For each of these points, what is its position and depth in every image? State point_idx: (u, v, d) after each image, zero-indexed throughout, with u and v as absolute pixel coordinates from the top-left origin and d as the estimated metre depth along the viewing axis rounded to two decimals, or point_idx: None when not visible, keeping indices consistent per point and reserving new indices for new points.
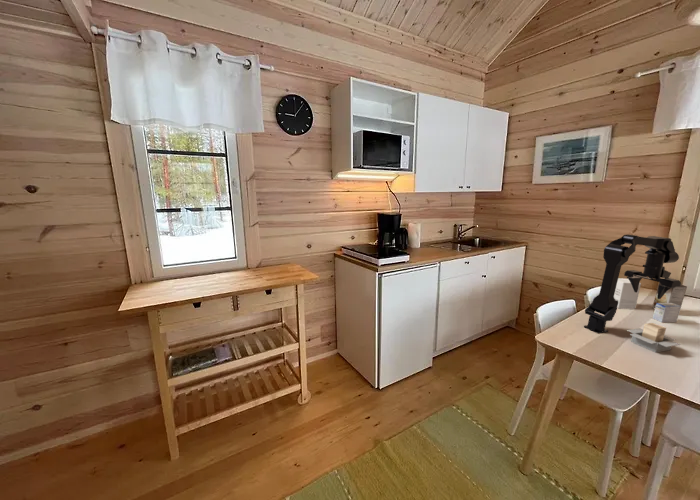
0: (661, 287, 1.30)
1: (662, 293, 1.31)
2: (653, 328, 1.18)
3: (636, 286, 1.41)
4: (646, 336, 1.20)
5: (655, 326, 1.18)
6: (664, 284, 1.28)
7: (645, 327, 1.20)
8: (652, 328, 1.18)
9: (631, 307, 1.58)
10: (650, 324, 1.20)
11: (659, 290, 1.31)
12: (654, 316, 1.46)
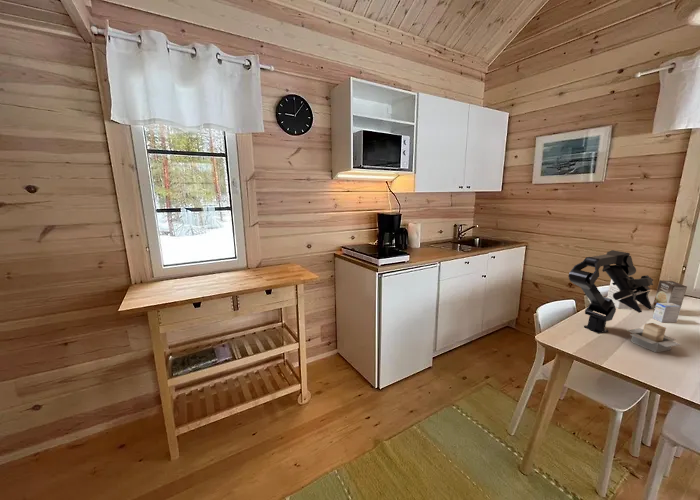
0: None
1: (632, 306, 1.21)
2: (653, 328, 1.18)
3: (644, 302, 1.26)
4: (646, 336, 1.20)
5: (655, 326, 1.18)
6: None
7: (645, 327, 1.20)
8: (652, 328, 1.18)
9: None
10: (650, 324, 1.20)
11: None
12: (654, 316, 1.46)
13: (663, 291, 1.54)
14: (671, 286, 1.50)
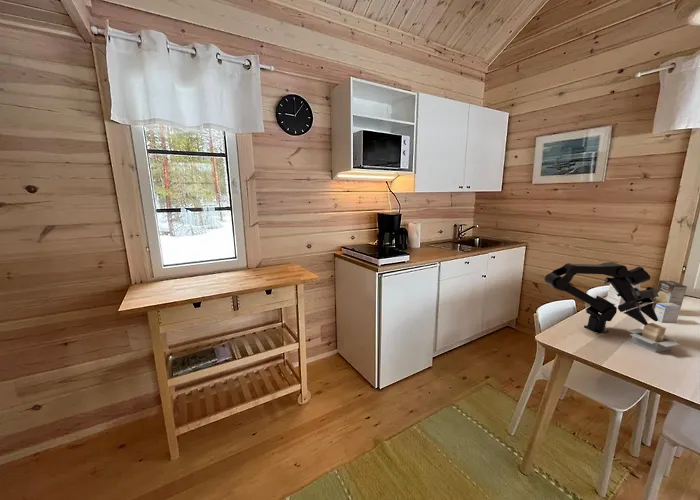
0: None
1: (638, 318, 1.19)
2: (653, 328, 1.18)
3: (650, 314, 1.24)
4: (646, 336, 1.20)
5: (655, 326, 1.18)
6: None
7: (645, 327, 1.20)
8: (652, 328, 1.18)
9: None
10: (650, 324, 1.20)
11: None
12: None
13: (663, 291, 1.54)
14: (671, 286, 1.50)
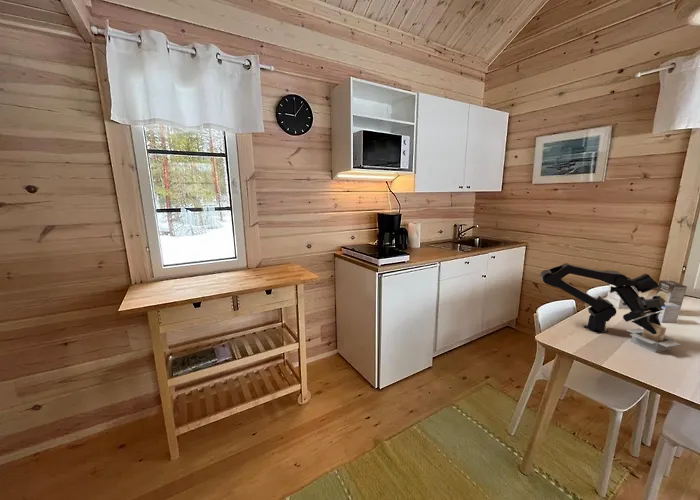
0: None
1: (647, 327, 1.19)
2: None
3: None
4: (646, 336, 1.20)
5: (655, 326, 1.18)
6: None
7: None
8: None
9: None
10: None
11: None
12: None
13: (663, 291, 1.54)
14: (671, 286, 1.50)
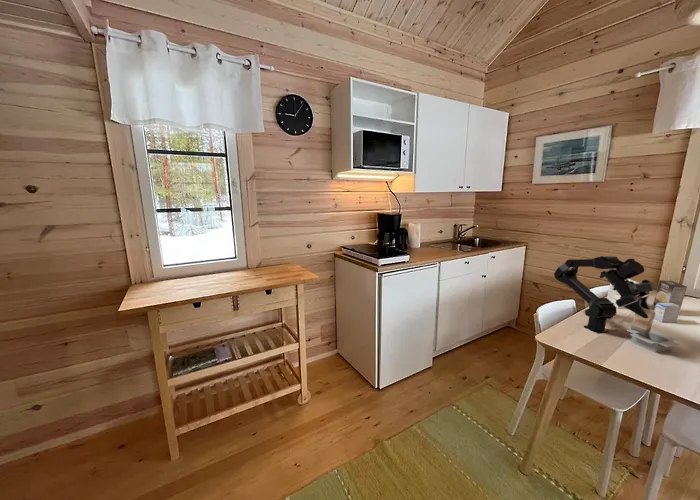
0: None
1: (638, 312, 1.17)
2: None
3: None
4: (637, 321, 1.19)
5: (646, 311, 1.17)
6: None
7: None
8: None
9: None
10: None
11: None
12: None
13: (663, 291, 1.54)
14: (671, 286, 1.50)
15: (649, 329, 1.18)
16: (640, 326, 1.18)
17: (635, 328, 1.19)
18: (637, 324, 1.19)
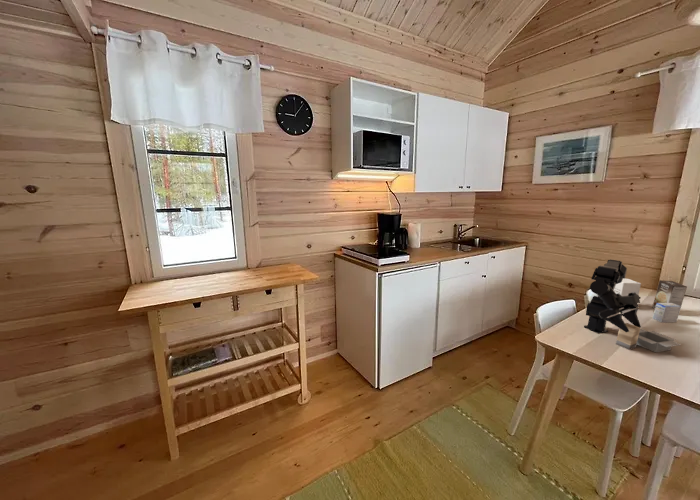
0: None
1: (619, 325, 1.17)
2: (629, 329, 1.17)
3: (633, 321, 1.21)
4: (622, 337, 1.19)
5: (630, 326, 1.18)
6: None
7: None
8: (628, 329, 1.17)
9: None
10: None
11: None
12: (654, 316, 1.46)
13: (663, 291, 1.54)
14: (671, 286, 1.50)
15: (634, 345, 1.18)
16: (624, 341, 1.19)
17: (620, 343, 1.20)
18: (622, 339, 1.19)
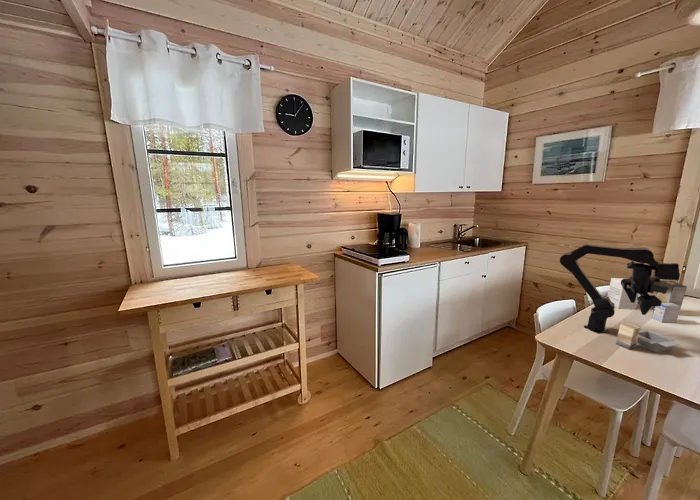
0: (638, 304, 1.21)
1: (644, 310, 1.22)
2: (629, 329, 1.17)
3: (632, 296, 1.30)
4: (622, 337, 1.19)
5: (630, 326, 1.18)
6: (639, 302, 1.20)
7: (621, 328, 1.19)
8: (628, 329, 1.17)
9: (631, 307, 1.58)
10: (625, 324, 1.19)
11: (639, 306, 1.22)
12: (654, 316, 1.46)
13: None
14: (671, 286, 1.50)
15: (634, 345, 1.18)
16: (624, 341, 1.19)
17: (620, 343, 1.20)
18: (622, 339, 1.19)
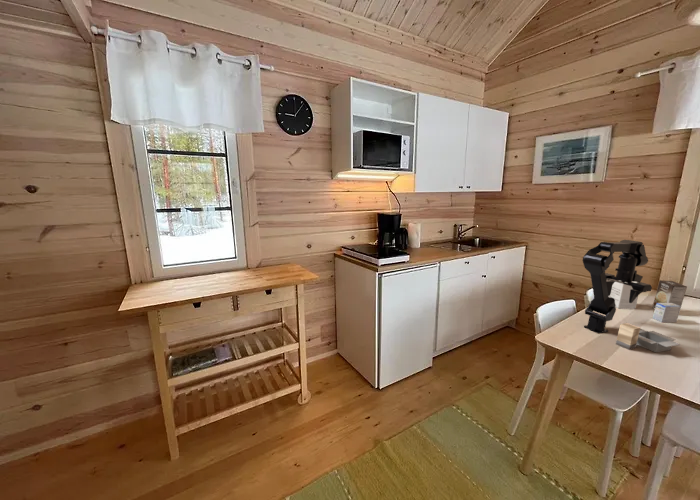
0: (633, 291, 1.29)
1: (634, 297, 1.30)
2: (629, 329, 1.17)
3: (609, 289, 1.40)
4: (622, 337, 1.19)
5: (630, 326, 1.18)
6: (635, 288, 1.27)
7: (621, 328, 1.19)
8: (628, 329, 1.17)
9: (631, 307, 1.58)
10: (625, 324, 1.19)
11: (631, 294, 1.30)
12: (654, 316, 1.46)
13: (663, 291, 1.54)
14: (671, 286, 1.50)
15: (634, 345, 1.18)
16: (624, 341, 1.19)
17: (620, 343, 1.20)
18: (622, 339, 1.19)
